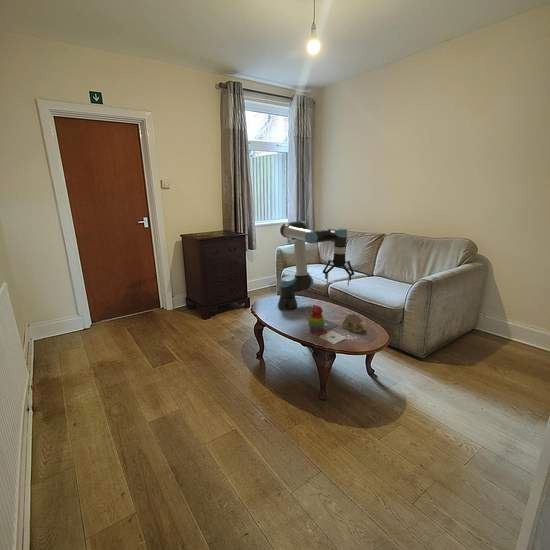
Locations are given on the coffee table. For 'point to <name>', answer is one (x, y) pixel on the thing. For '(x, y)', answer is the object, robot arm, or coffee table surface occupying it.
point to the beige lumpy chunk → (352, 323)
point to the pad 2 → (332, 337)
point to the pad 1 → (329, 325)
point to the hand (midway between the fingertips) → (337, 284)
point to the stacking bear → (317, 321)
